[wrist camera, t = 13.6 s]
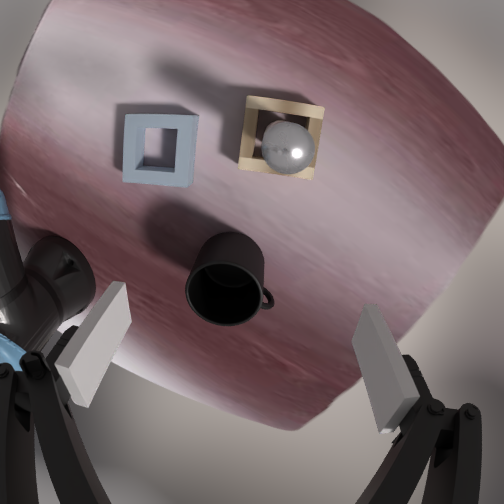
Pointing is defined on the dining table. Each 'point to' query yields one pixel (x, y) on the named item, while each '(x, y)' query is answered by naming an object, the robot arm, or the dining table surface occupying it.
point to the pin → (287, 147)
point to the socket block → (135, 149)
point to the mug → (228, 280)
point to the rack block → (282, 106)
